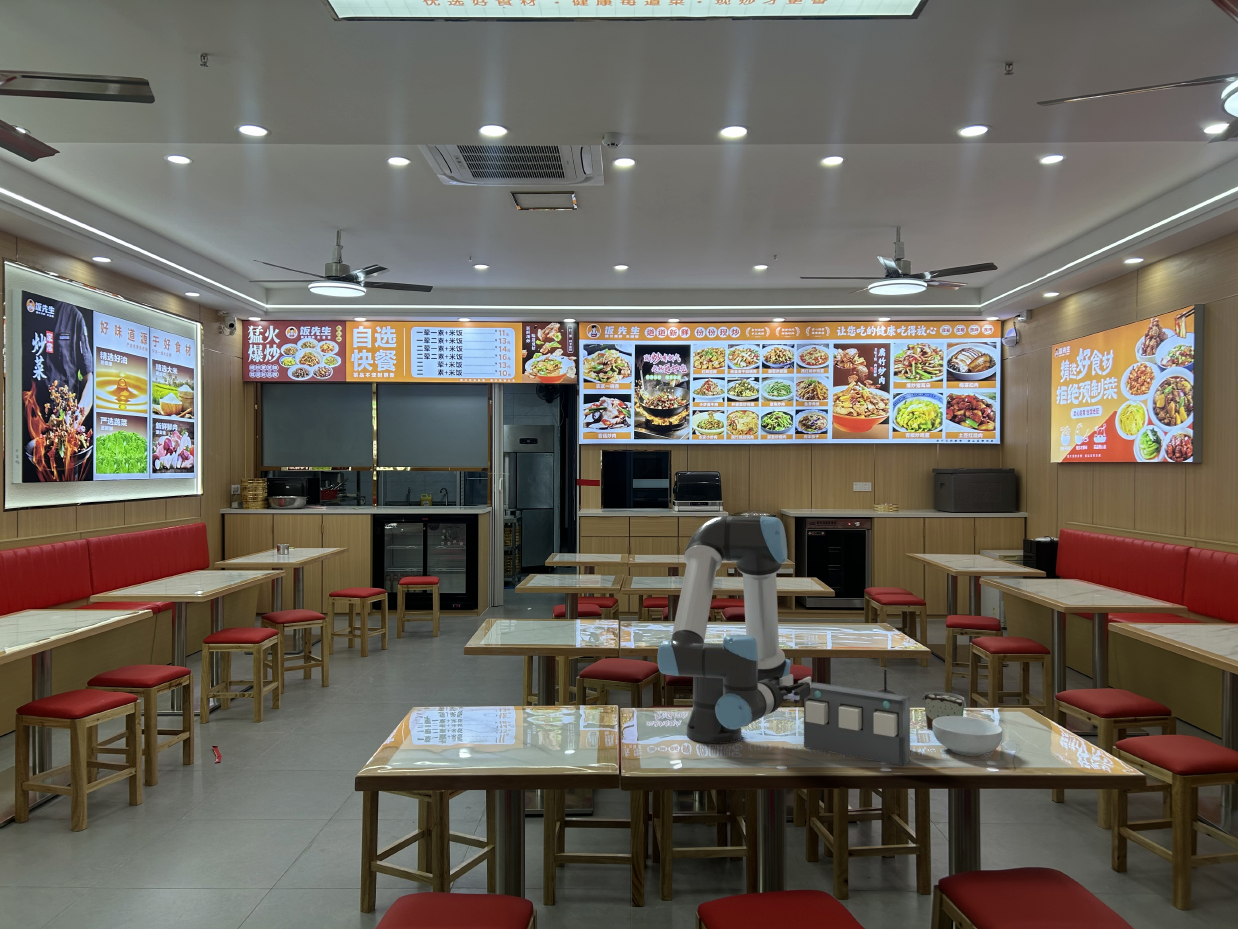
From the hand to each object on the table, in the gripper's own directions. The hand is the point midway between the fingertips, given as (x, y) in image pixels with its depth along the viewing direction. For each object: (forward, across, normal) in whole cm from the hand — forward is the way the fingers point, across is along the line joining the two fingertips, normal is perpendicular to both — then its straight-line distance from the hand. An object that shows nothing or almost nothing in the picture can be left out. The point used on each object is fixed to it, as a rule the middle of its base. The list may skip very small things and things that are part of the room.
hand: (800, 681), depth 209 cm
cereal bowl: (+34, +32, -20) cm, 51 cm away
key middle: (+11, +9, -13) cm, 19 cm away
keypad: (+15, +9, -20) cm, 26 cm away
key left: (+11, 0, -13) cm, 17 cm away
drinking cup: (+27, +13, -20) cm, 36 cm away
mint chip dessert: (+52, +23, -20) cm, 60 cm away
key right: (+11, +18, -12) cm, 25 cm away
